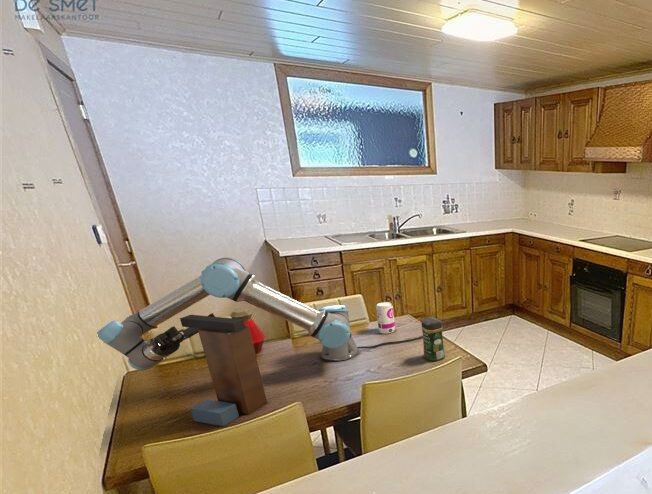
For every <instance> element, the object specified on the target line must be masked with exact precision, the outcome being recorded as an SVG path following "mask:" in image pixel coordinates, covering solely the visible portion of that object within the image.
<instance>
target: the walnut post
mask: <svg viewBox="0 0 652 494" xmlns="http://www.w3.org/2000/svg"><path fill="white" fill-rule="evenodd" d="M198 332H199V333H198V336H199V339H200V342H201V346H202V350H203V353H204V356H205V360H206V363H207V367H208V370H209V375H210V378H211V381H212V385H213V388H214V392H215V395H216V399H217V401H220V402H226V403H233V404H236V407H237V410H238V414H245V415H250V414H251V413H253V412H255V411H257V410H258V409H259V408H261V407H263V406H265V405H266V404H267V403H268V402H267V397H266V392H265V388H264V384H263V379H262V376H261V372H260V368H259V363H258V359H257V355H256V354H257V353H255V350H254V346H253V341H252V337H251V333H250V329H249V326H248V325H245V328H244V329H241V330H239V331H237V332H232V331H221V330H211V329H201V330H198Z"/></svg>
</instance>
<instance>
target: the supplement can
mask: <svg viewBox="0 0 652 494" xmlns="http://www.w3.org/2000/svg"><path fill="white" fill-rule="evenodd" d="M375 310H376V311H375V312H376V319H377V326H378V328H377V329H378V332H379V333H380V334H383V335H388V334H393V333H394V332H395V331H396V324H395V323H396V322H395V314H394V306H393V304H392V302H389V301H383V302H382V301H381V302H379V303H377V304H376V306H375Z"/></svg>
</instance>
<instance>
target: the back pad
mask: <svg viewBox="0 0 652 494" xmlns="http://www.w3.org/2000/svg"><path fill="white" fill-rule="evenodd" d="M179 321H180V325H181V327H182V328H189V327H191V328H201V329H211V330H221V331H232V332H237V331H239V330H241V329H244V328H245V323H244V320H243V319H233V318H231V317H220V316H215V317H211V316H208V315H200V314H188V315H186V316H183V317H180V318H179Z"/></svg>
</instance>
